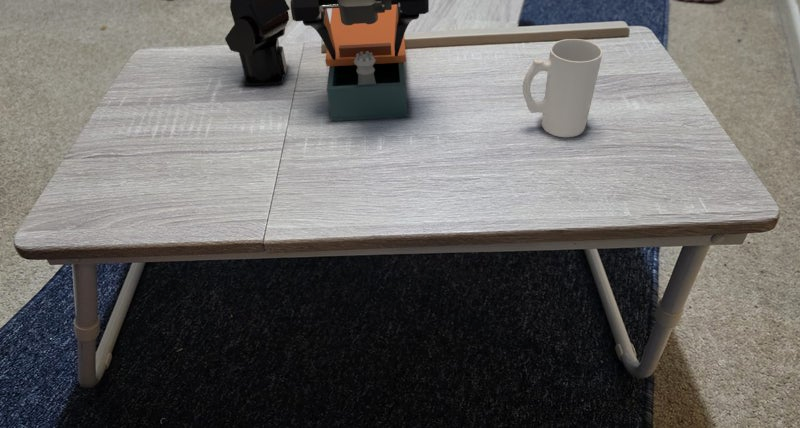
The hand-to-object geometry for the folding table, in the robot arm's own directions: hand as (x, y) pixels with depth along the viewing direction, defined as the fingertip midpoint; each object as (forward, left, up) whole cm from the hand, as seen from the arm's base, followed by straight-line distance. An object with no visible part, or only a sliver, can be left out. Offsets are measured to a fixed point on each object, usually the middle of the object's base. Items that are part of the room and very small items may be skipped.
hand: (365, 56), depth 86 cm
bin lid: (0, +13, -3) cm, 13 cm away
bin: (0, +5, -8) cm, 10 cm away
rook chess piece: (0, 0, -8) cm, 8 cm away
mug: (+27, -9, -9) cm, 30 cm away
